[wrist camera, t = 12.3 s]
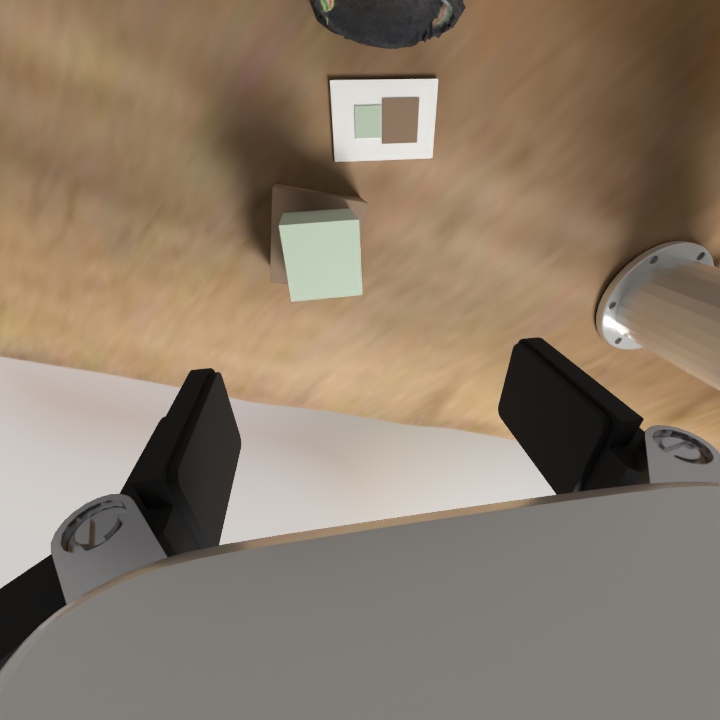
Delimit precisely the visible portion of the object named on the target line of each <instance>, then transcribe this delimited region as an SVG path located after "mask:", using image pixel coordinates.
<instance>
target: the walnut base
mask: <svg viewBox="0 0 720 720" xmlns="http://www.w3.org/2000/svg"><path fill="white" fill-rule="evenodd" d="M367 204H368V203H367V202H366V201H364V200H363V199H362V198H361V197H355V196H349V195H343V194H337V193H331V192H325V191H319V190H313V189H307V188H300V187H294V186H288V185H282V184H275V185H274V186H273V187H272V218H271V262H270V283H280V284H288V278H287V272H286V266H285V260H284V254H283V248H282V242H281V236H280V230H279V223H280V220H281V217H282V214H283V213H289V212H304V211H318V210H332V209H346V208H350V209H351V210H352V212H353V213H354V214H355V215H356V216H357V218H358V219H359V229H360V249H361V242H362V236H363V229H364V223H365V217H366V210H367Z"/></svg>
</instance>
